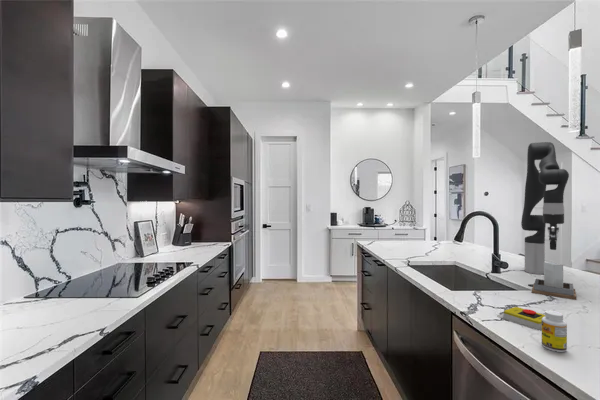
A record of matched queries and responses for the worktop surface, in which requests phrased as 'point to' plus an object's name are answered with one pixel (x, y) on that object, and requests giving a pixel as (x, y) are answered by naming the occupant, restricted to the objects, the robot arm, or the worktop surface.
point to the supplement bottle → (554, 331)
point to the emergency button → (523, 317)
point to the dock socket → (554, 290)
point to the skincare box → (553, 274)
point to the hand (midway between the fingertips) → (553, 248)
